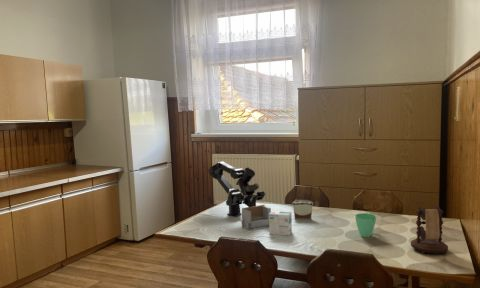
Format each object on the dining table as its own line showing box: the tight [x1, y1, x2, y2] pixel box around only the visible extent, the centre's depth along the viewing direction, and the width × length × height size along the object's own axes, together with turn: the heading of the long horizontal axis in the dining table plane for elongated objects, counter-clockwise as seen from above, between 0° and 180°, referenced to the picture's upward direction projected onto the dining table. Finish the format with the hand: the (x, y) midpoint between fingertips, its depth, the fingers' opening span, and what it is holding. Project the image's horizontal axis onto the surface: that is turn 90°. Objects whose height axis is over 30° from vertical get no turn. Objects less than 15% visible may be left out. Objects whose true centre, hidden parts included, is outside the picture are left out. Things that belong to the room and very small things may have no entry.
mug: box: [355, 212, 377, 238], centre depth 189 cm, size 15×10×10 cm
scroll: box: [410, 205, 449, 254], centre depth 166 cm, size 15×15×20 cm
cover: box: [241, 204, 266, 221], centre depth 209 cm, size 1×14×10 cm, turn 117°
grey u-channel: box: [241, 205, 272, 231], centre depth 205 cm, size 6×16×10 cm, turn 118°
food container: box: [291, 199, 315, 220], centre depth 220 cm, size 12×6×10 cm, turn 84°
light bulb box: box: [268, 210, 293, 236], centre depth 194 cm, size 11×7×11 cm, turn 71°
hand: (254, 209), depth 210 cm, fingers closed
